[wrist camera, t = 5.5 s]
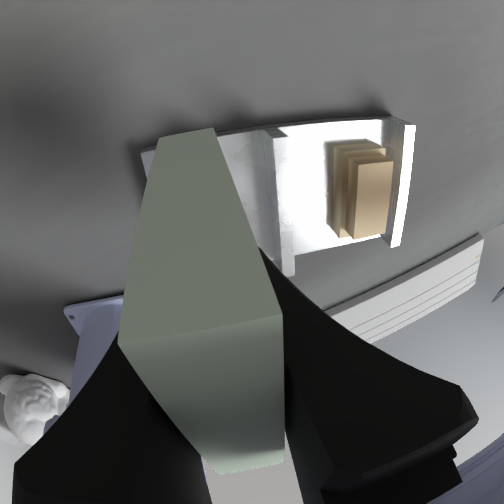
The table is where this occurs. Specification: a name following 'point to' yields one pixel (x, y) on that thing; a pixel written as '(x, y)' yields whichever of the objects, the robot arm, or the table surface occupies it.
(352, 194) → the offcut upper
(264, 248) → the rack
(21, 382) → the rabbit
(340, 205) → the offcut lower
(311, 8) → the table surface
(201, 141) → the pale green rectangular block
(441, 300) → the white board
